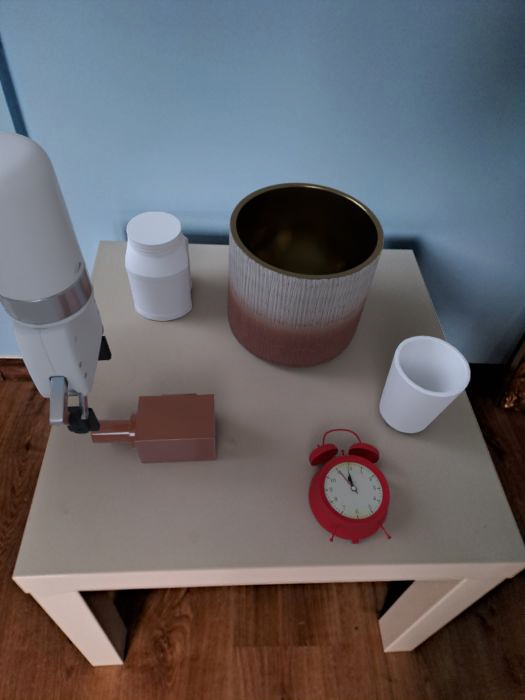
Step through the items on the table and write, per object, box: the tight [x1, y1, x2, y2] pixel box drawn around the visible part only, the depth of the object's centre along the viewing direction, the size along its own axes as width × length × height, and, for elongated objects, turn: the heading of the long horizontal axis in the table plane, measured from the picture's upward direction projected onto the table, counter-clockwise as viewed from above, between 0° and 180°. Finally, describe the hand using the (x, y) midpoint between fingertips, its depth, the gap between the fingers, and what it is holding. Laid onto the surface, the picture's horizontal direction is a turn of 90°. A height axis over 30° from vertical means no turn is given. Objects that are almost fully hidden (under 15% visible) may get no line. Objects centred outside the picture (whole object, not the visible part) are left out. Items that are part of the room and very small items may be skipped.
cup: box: [378, 335, 471, 435], centre depth 64 cm, size 10×10×13 cm
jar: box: [124, 210, 193, 322], centre depth 75 cm, size 12×10×15 cm
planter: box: [227, 182, 385, 369], centre depth 72 cm, size 22×22×20 cm
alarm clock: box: [308, 428, 392, 545], centre depth 60 cm, size 10×6×15 cm
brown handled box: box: [90, 393, 217, 464], centre depth 62 cm, size 7×9×16 cm
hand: (92, 391), depth 53 cm, fingers open, 9 cm apart
